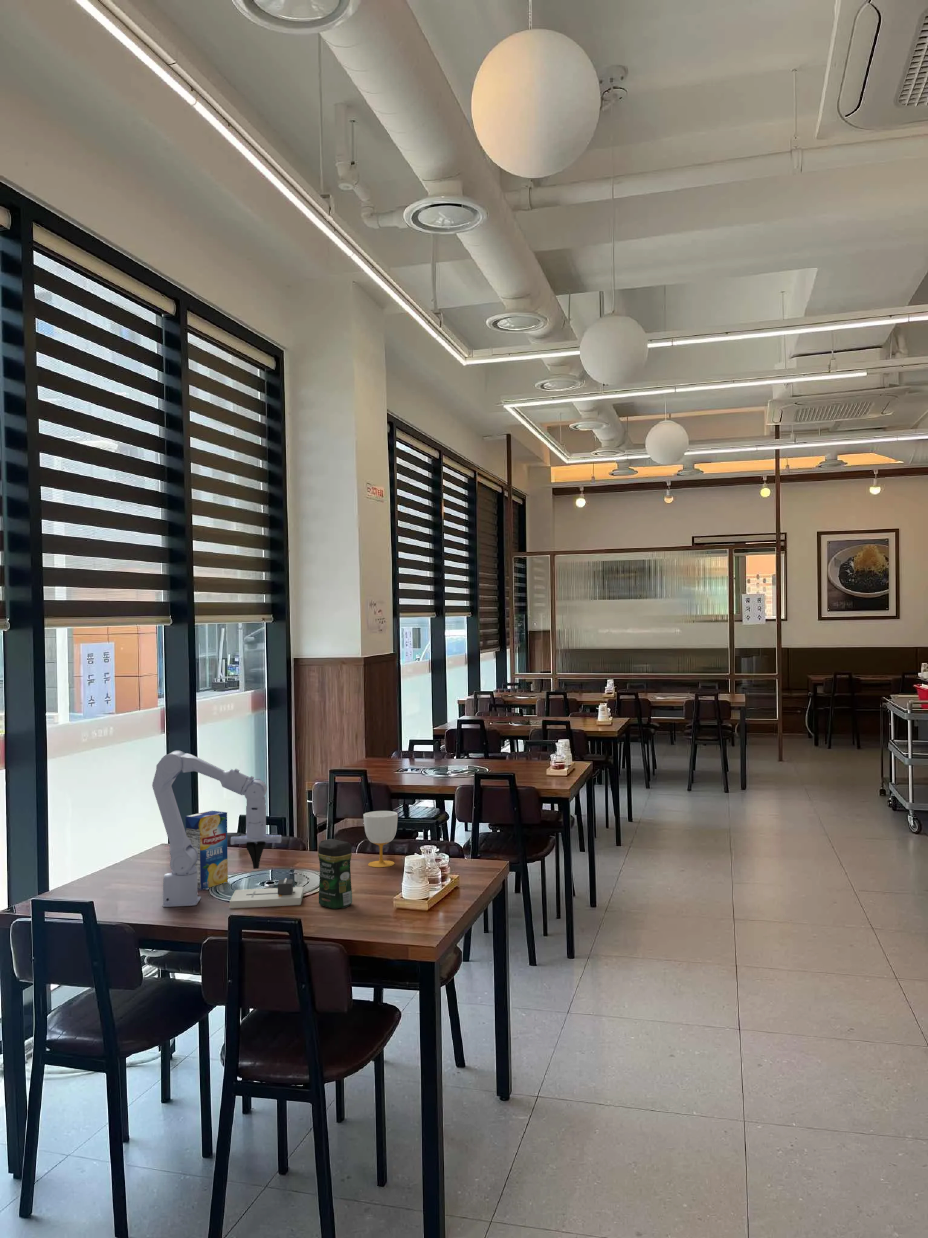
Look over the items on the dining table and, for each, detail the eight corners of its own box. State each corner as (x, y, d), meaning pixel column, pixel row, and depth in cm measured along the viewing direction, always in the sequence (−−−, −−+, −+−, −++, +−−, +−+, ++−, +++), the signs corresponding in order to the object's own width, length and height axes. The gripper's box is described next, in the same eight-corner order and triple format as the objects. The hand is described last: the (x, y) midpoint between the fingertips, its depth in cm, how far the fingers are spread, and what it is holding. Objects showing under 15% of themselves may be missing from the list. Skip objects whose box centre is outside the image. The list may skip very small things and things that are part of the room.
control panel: (229, 908, 256) (229, 900, 256) (235, 896, 268) (235, 889, 268) (300, 905, 258) (300, 897, 258) (303, 893, 270) (303, 886, 270)
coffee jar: (313, 905, 257) (312, 840, 258) (334, 899, 263) (334, 835, 264) (336, 911, 251) (335, 844, 252) (357, 905, 257) (356, 839, 258)
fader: (277, 894, 261) (277, 883, 261) (279, 890, 266) (279, 878, 266) (291, 894, 261) (291, 882, 261) (293, 889, 266) (292, 877, 266)
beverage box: (185, 887, 280) (185, 816, 280) (213, 879, 289) (212, 810, 290) (200, 890, 276) (199, 818, 277) (228, 882, 285) (227, 812, 286)
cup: (366, 860, 311) (365, 811, 311) (400, 860, 310) (399, 810, 311) (361, 868, 299) (360, 817, 299) (396, 868, 298) (395, 817, 299)
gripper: (228, 825, 260) (229, 872, 260) (279, 823, 262) (279, 870, 261) (232, 820, 267) (232, 866, 267) (281, 818, 269) (282, 864, 268)
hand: (256, 868), depth 264 cm, fingers closed
